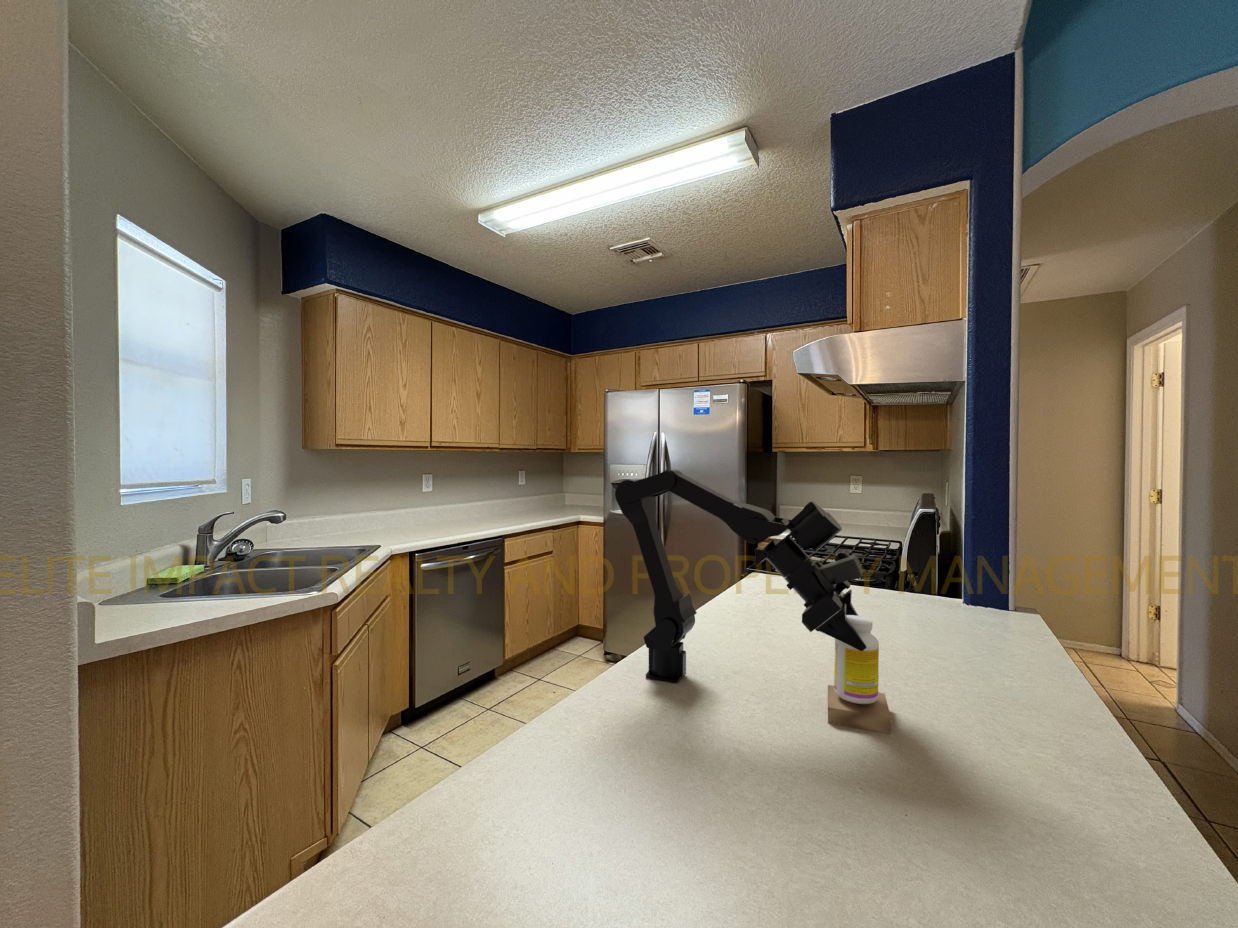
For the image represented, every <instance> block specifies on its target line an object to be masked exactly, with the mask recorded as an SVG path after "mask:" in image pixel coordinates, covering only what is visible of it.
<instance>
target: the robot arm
mask: <svg viewBox="0 0 1238 928" xmlns="http://www.w3.org/2000/svg"><path fill="white" fill-rule="evenodd" d="M669 492H670V493H672V494H674V495H676V496H677V497H680V498H681V499H683V500H685V501H687V502H688V503H691V504H692V505H694V506H696V507H698V508H699V509H701V510H703V511H705V512H706V513H708V514H711V515H712V516H714V517H716V518H718V519H720V521H722V522H723V523H725V525H726V526H727V527H728V528H729V529H730V530H731V531H732V532H734V533H735V534H736V535H737V536H739V538H741V539H742V540H744V541H745V542H746V543H748V544H752V545H753V544H754V545H758V544H761V543H764V542H765V541H767V540H769V539H770V538H772V537H779V536H781V535H782V534H784V533H785V532H787V531H788V530H789V531H790V532H789V533H788V534H787V535H786V536H785V537H783V538H782V539H781V540H779V539H778V538H772V540H770V541H769V542H768V543H767V544H766V545H765V546H763V547H756V548H755V549H754V554H755V555H754V556H755V558H754V564H755V565H756V566H757V565H760V564H761V563H762V562H764V561H765V560H767V561H768V562H769V564H770V565H771V566H773V568H774V569H775V570H776V571H777V573H779V574H780V576H781V577H782V578H783V579H784V580H785V582H787V584H785V586H786V587H787V588H788V589H789V590H790V591H791V590H792V589H793V590H794V591H795V593H796V594H797V595H798V596H800V598H801V599H802V600H803V601H804V604H803V606H804V607H805V609H804V610H803V612H802V614H801V624H803V627H805V629H807V630H808V631H809V633H811V632H813V631H816V632H820V633H823V634H825V635H827V636H829V637H830V638H833V639H834V640H835V639H837V640H840V641H842V642H844V643H846V644H848V645H850V646H852V647H854V648H856V649H858V650H860V651H863V650H864V649H866V645H865V643H864V642H863V640H862V639H861V637H860V636H859V634H858V633H857V632H856V630H855V629H854V627H853V626H852V625H851V623H850V622H849V620H848V619H847V617H846V615H857V616H859V613H858V612H857V610H856V609H855V608H854V605H853V603H852V595H853V594H852V592H853V590H852V588H851V585H852V584H851V582H849V581H850V580H852V581H855V580H857V579H860V578H862V577H863V574H864V570H863V569H862V567H861V564H860V560H859V559H858V558H857V556H856V555H855V554H851V555H850V554H849V553H847V552H846V551H845V550H843V551H841V552H837V553H836V554H835V556H834V557H835V559H834V561H831V562H830V563H827V564H824V565H823V564H822V563H821V561H820V560H816V559H814V561H813V559H812V558H811V557H810V556H809V555H808V554H807V553H806V552H805V551H809V550H813V551H815V552H817V551H819V550H820V549H821V548H822V547H823V546H825V545H826V544H827V543H828V542H829V541H830V540H832V539H833V538H834V537H836V536H837V535H838V534H839V533H840V532H841V531H842V530H843V527H842V526H841V524H839V522H838V520H836V519H835V517H834V516H833V515H831V514H830V513H829V512H827V511H825V509H823V508H822V507H821V506H820V505H818V504H817V503H815V501H813V500H812V501H809V502H808V503H806V504H805V506H804V507H803V508H802V510H801V511H800V512H798V514H796V515H795V516H794V517H793V518H791V519H789V518H785V517H779V516H775V515H774V514H773V513H772V512H771V511H770V510H768V509H765V508H762V507H759V506H756V505H752V504H749V503H745V502H741V501H738V500H734V499H731V498H730V497H728V496H726V495H725V494H721V493H720V492H719V491H716V490H715V489H712V488H710V487H709V486H707V485H705V484H702V483H700V482H699V481H697V480H695V479H693V478H691V477H689V476H687V475H685V474H684V473H682V472H681V471H680V470H678V469H665V470H663V471H661V472H659V473H657V474H654V475H651V476H647V477H643V478H634V479H632V478H631V479H626V480H625V479H624V480H623V481H621V482H619V483H618V484H617V486H616V489H615V491H614V498H615V502H617V505H618V507H619V509H620V512H621V513H622V515H623V516H624V518H626V519H627V521H628V523H630V525H631V526H632V528H633V530H634V531H633V532H634V535H635V537H636V541H637V544H638V547H639V549H640V554H641V556H642V560H643V563H644V567H645V570H646V573H647V576H648V579H649V582H650V585H651V589H652V592H653V596H654V597H653V613H652V614H653V618H654V627H653V628H651V630H650V631H648V633H646V634H645V635H644V636H643V641H644V644H645V646H646V648H647V649H648V671H647V672H646V674H645V678H646V679H653V680H659V681H664V682H670V683H679V681H680V680H681V678H683V676H684V675H685V673H686V671H687V651H686V650H685V649H684V642H683V641H682V640H684V639H685V638H686V635H687V634H688V633H689V632H690V631H691V630H692V629H693V628H694V626H695V624H696V617H695V615H697V611H696V609H695V608H694V605H693V601H692V596H691V594H690V593H688V594H685V595H684V594H683V593H682V592H681V590H680V589H679V588H678V586H677V584H676V580H675V577H674V574H673V570H672V568H671V565H670V562H669V561H670V560H669V559H668V556H667V552H666V549H665V546H664V542H663V540H662V537H661V533H660V530H659V527H658V524H657V521H656V511H657V502H656V501H657V500H656V497H659V496H662V495H665V494H666V493H669ZM803 549H804V550H805V551H804V550H803ZM850 588H851V589H850ZM845 589H846V590H848V589H849V590H848V591H846V592H845V593H844V592H843V591H844V590H845Z"/></svg>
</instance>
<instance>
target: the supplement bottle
mask: <svg viewBox="0 0 1238 928" xmlns="http://www.w3.org/2000/svg"><path fill="white" fill-rule="evenodd" d="M846 617H847V619H848V620H849V622H850V623H851V625H852V626H853V627H854V629H855V630H856V632H857V633H858V634H859V636H860V637H861V639H862V640H863V642H864V643H865V645H866V649H864V650H863V651H860V650H858V649H856V648H854V647H852V646H850V645H848V644H846V643H844V642H842V641H840V640H837V639H835V638H834V670H833V671H834V677H833V679H834V683H833V686H834V689H835V693H836V694H837V695H838V696H839V697H840V698H842V699H844V700H846V701H849V702H852V703H857V704H871V703H874V702H875V701H877V699H878V692H879V667H880V666H879V660H880V659H879V658H880V657H879V656H880V650H879V648H880V647H879V645H880V643H879V640H878V639H877V637H876V636H874V635H873V634H872V632H871V631H873V630H872V629H873V620H872V619H871V618H868V617H866V616H861V615H858V616H857V615H846Z"/></svg>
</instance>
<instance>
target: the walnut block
mask: <svg viewBox="0 0 1238 928" xmlns="http://www.w3.org/2000/svg"><path fill="white" fill-rule="evenodd" d="M827 723H828V724H834V725H839V726H844V727H849V728H856V729H861V730H862V729H863V730H867V731H874V732H879V733H884V734H889V735H890V734H892V717H891V713H890V709H889V705H888V701H887V697H886V693H885V692H879V691H878V699H877V701H875V702H874V703H871V704H857V703H852V702H849V701H846V700H844V699H842V698H840V697H839V696H838V695H837V694H836V693H835V689H834V685H831V684H827Z"/></svg>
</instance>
